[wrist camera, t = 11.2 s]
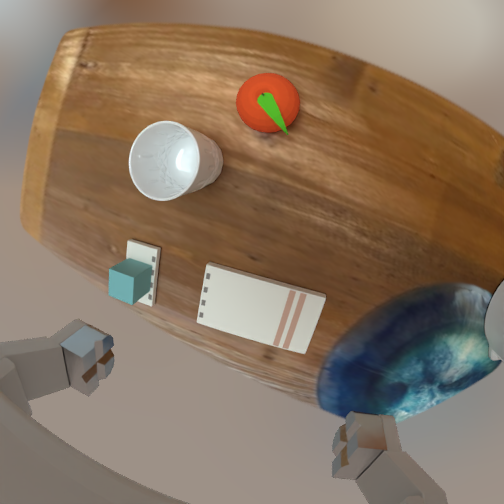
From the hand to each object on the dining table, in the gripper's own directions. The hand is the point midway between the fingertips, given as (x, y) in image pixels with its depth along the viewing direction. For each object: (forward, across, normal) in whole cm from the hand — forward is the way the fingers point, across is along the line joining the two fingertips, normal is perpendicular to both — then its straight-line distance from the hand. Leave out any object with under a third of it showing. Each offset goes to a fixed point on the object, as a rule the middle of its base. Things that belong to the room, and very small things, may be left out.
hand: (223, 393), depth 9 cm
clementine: (+29, +5, -13) cm, 32 cm away
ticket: (+29, +1, +12) cm, 31 cm away
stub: (+29, +19, +12) cm, 36 cm away
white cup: (+29, +13, -5) cm, 32 cm away
